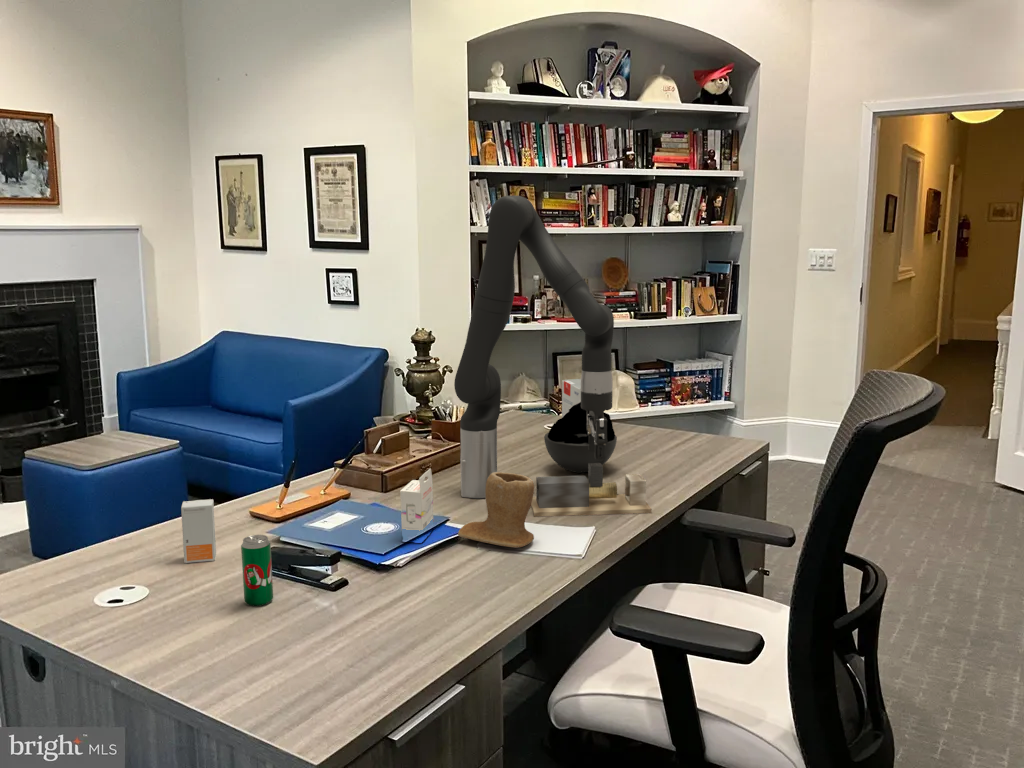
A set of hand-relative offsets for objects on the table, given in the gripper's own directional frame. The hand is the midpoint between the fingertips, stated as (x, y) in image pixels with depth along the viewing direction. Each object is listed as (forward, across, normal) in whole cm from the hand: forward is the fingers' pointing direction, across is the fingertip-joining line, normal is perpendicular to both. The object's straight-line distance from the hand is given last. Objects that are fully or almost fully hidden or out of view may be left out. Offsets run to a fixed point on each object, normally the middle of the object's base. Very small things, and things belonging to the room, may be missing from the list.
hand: (596, 455), depth 206 cm
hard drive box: (+13, -59, +6) cm, 61 cm away
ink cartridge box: (+13, +17, -43) cm, 48 cm away
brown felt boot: (+13, +21, -25) cm, 35 cm away
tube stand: (+13, 0, -2) cm, 13 cm away
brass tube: (+11, 0, -4) cm, 11 cm away
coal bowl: (+13, -31, +1) cm, 34 cm away
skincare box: (+12, +26, -87) cm, 91 cm away
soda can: (+13, +48, -71) cm, 86 cm away
